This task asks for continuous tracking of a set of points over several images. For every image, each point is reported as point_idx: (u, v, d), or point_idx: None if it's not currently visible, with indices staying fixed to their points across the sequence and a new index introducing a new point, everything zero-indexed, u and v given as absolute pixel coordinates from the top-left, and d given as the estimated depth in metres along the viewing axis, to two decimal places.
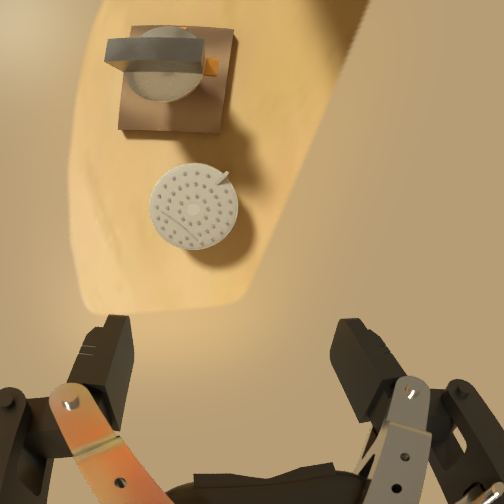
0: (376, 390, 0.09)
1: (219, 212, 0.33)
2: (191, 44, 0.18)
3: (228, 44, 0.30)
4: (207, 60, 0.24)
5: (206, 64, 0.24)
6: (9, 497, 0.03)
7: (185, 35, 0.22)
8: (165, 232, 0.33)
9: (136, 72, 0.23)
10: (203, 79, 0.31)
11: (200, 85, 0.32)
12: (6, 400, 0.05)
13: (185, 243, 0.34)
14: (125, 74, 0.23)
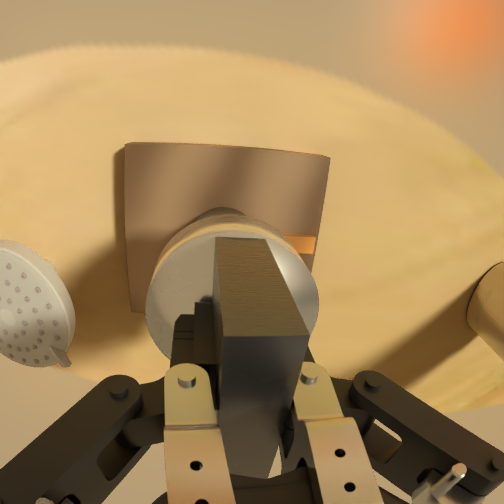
0: None
1: (18, 349, 0.16)
2: (256, 472, 0.09)
3: None
4: None
5: None
6: (75, 475, 0.05)
7: None
8: None
9: (211, 268, 0.12)
10: None
11: None
12: (118, 388, 0.07)
13: None
14: (208, 242, 0.11)
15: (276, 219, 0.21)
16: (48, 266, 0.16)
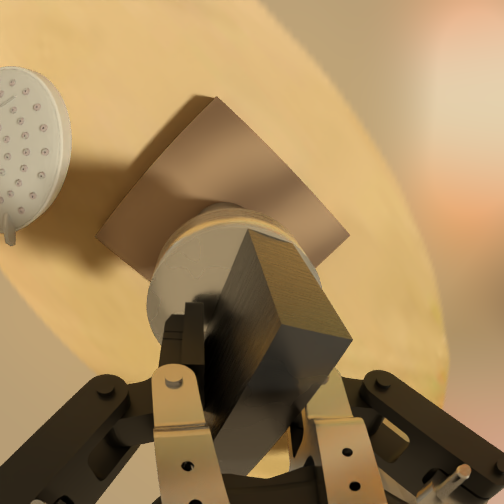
0: None
1: None
2: (236, 471, 0.09)
3: None
4: None
5: None
6: (67, 476, 0.05)
7: None
8: None
9: (233, 258, 0.12)
10: None
11: None
12: (105, 388, 0.07)
13: None
14: (239, 231, 0.11)
15: None
16: (70, 139, 0.13)
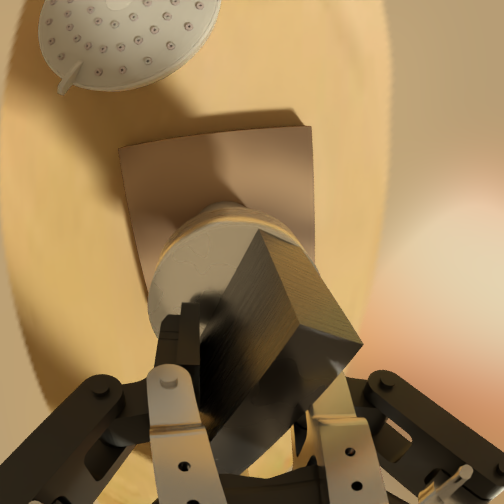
0: None
1: (67, 13, 0.10)
2: (229, 470, 0.08)
3: None
4: None
5: None
6: (64, 477, 0.05)
7: None
8: None
9: (241, 257, 0.12)
10: None
11: (175, 226, 0.20)
12: (100, 387, 0.07)
13: None
14: (250, 231, 0.11)
15: None
16: (193, 55, 0.13)
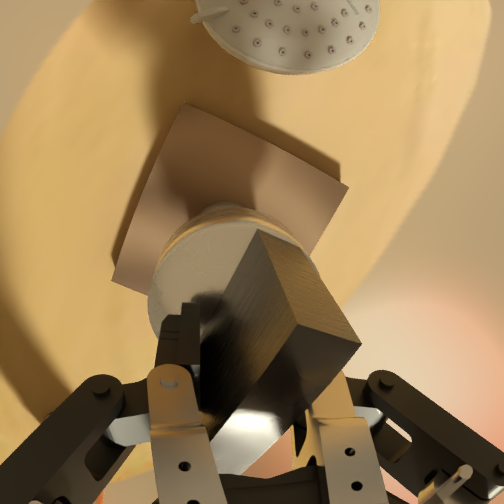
0: None
1: None
2: (229, 470, 0.08)
3: (123, 259, 0.20)
4: None
5: None
6: (64, 477, 0.05)
7: None
8: None
9: (240, 257, 0.12)
10: (178, 211, 0.20)
11: (186, 202, 0.19)
12: (101, 387, 0.07)
13: None
14: (248, 231, 0.11)
15: None
16: (312, 73, 0.14)
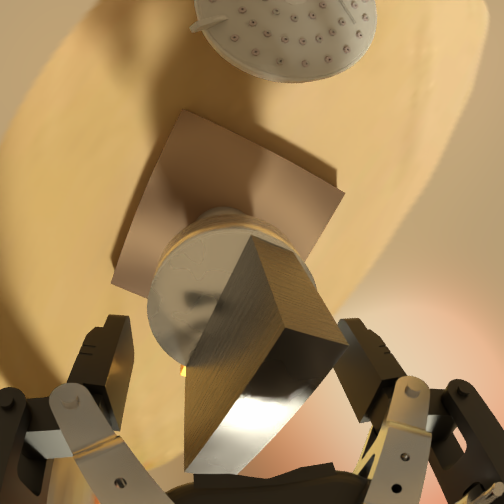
0: (376, 390, 0.09)
1: None
2: (228, 468, 0.09)
3: (123, 262, 0.21)
4: None
5: None
6: (9, 497, 0.03)
7: None
8: None
9: (235, 263, 0.12)
10: (177, 215, 0.20)
11: (185, 207, 0.20)
12: (6, 400, 0.05)
13: None
14: (242, 237, 0.12)
15: None
16: (309, 81, 0.14)
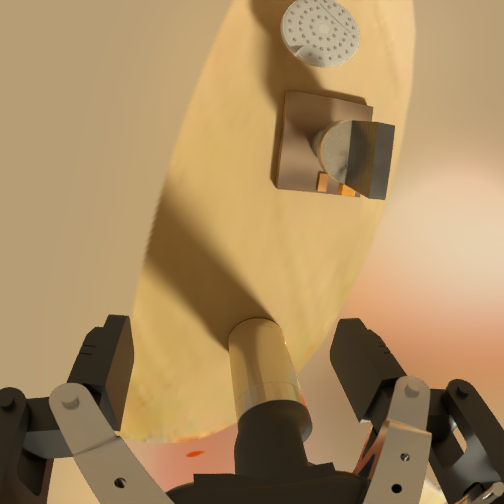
0: (376, 390, 0.09)
1: (300, 22, 0.28)
2: (382, 191, 0.27)
3: (282, 174, 0.40)
4: None
5: None
6: (9, 497, 0.03)
7: None
8: (347, 15, 0.28)
9: (350, 131, 0.30)
10: (303, 140, 0.38)
11: (305, 135, 0.38)
12: (6, 400, 0.05)
13: (330, 3, 0.27)
14: (349, 121, 0.29)
15: None
16: None
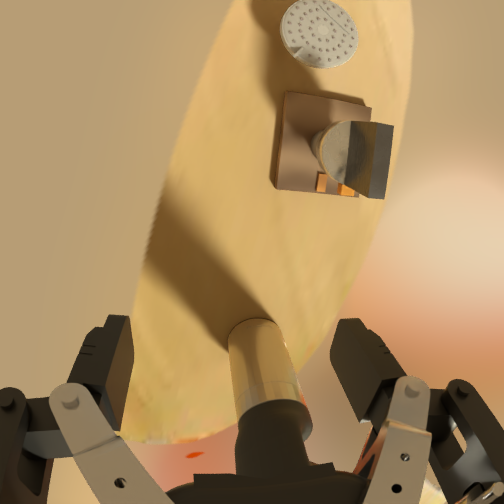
0: (376, 390, 0.09)
1: (299, 24, 0.28)
2: (381, 190, 0.27)
3: (281, 174, 0.40)
4: None
5: None
6: (9, 497, 0.03)
7: None
8: (346, 16, 0.28)
9: (349, 131, 0.30)
10: (302, 141, 0.39)
11: (304, 135, 0.38)
12: (6, 400, 0.05)
13: (329, 4, 0.27)
14: (348, 122, 0.30)
15: None
16: None
